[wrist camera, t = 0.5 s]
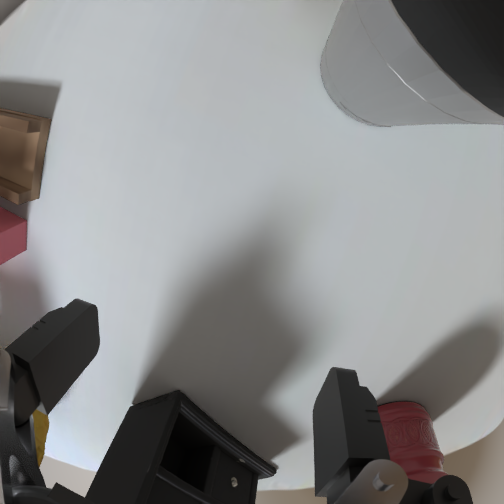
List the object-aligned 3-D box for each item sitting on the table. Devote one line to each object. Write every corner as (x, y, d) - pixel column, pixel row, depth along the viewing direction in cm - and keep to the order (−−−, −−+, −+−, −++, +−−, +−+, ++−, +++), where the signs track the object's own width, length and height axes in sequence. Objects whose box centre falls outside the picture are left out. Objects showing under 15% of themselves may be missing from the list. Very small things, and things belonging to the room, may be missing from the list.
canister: (343, 458, 38) (347, 556, 22) (336, 411, 34) (343, 538, 17) (423, 439, 35) (445, 532, 19) (433, 387, 31) (473, 502, 15)
